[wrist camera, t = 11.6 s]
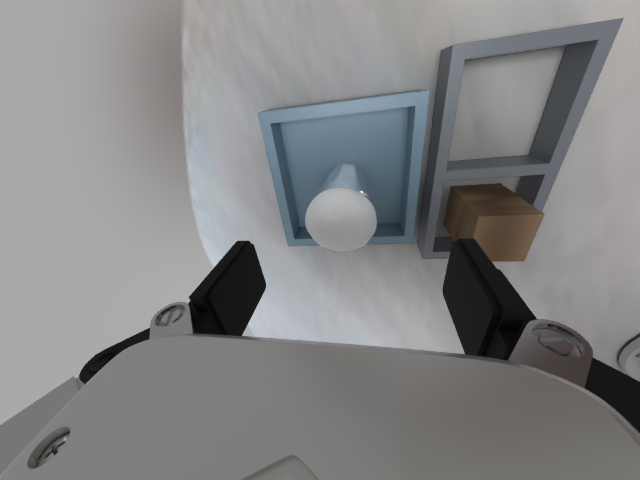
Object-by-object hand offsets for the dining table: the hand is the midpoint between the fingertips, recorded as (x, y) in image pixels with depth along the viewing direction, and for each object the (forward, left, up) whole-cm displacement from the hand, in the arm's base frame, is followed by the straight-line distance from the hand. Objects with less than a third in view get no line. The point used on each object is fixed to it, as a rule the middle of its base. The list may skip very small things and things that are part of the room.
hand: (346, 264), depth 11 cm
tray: (+1, 0, -13) cm, 13 cm away
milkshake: (0, 0, -13) cm, 13 cm away
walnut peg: (-11, +3, -13) cm, 17 cm away
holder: (-11, 0, -13) cm, 17 cm away
